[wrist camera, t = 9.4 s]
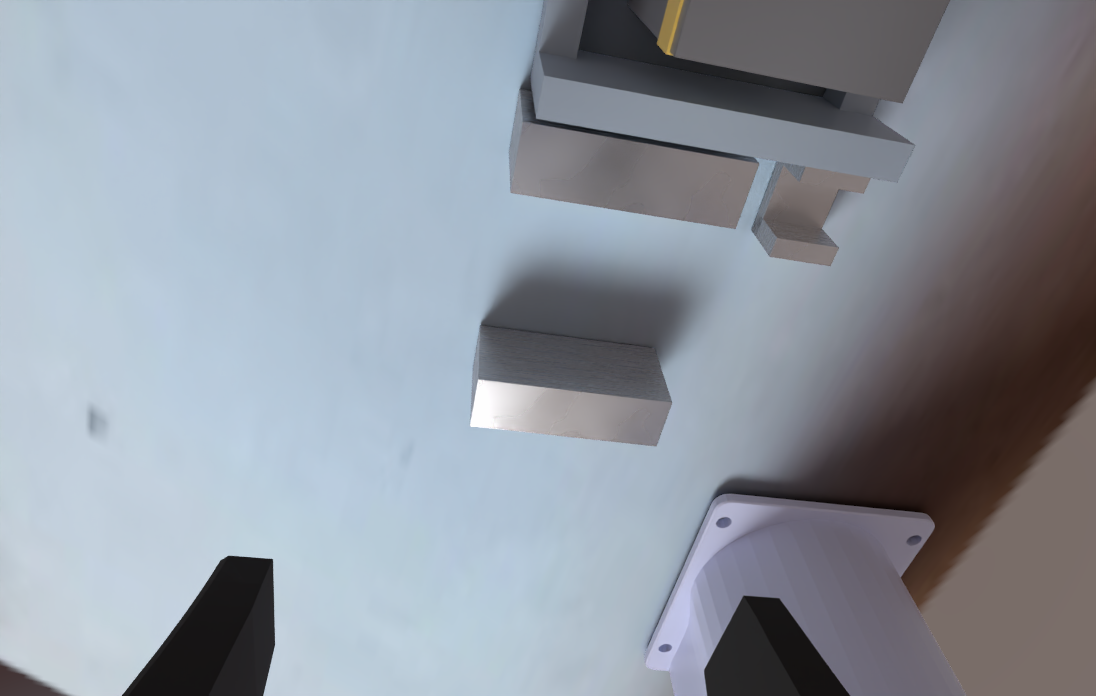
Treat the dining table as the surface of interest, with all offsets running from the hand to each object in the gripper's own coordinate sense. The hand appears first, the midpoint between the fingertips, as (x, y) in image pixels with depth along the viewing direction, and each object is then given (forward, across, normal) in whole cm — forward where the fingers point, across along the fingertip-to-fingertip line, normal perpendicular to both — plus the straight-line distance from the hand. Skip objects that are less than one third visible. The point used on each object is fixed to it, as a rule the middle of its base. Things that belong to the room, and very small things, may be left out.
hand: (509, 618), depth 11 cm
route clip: (+10, -7, -4) cm, 13 cm away
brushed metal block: (+10, -2, -2) cm, 10 cm away
